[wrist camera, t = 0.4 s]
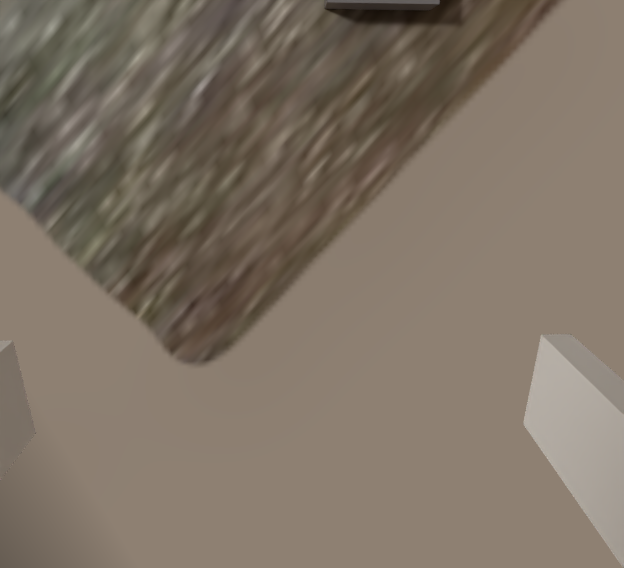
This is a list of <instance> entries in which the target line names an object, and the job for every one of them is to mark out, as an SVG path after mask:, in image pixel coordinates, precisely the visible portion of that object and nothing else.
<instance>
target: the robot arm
mask: <svg viewBox="0 0 624 568" xmlns="http://www.w3.org/2000/svg"><path fill="white" fill-rule="evenodd" d="M523 424H524V426H525V427H526V428H527V430H528V431H529V433H530V434H531V436H532V437H533V439H534V440H535V441H536V443H537V444H538V446H539V447H540V449H541V450H542V452H543V453H544V454H545V456H546V457H547V459H548V460H549V462H550V463H551V465H552V466H553V467H554V469H555V470H556V472H557V473H558V475H559V476H560V478H561V479H562V480H563V482H564V483H565V485H566V486H567V487H568V489H569V490H570V492H571V493H572V495H573V496H574V498H575V499H576V500H577V502H578V503H579V505H580V506H581V508H582V509H583V511H584V512H585V514H586V515H587V516H588V518H589V519H590V521H591V522H592V523H593V525H594V527H595V528H596V529H597V531H598V532H599V534H600V535H601V537H602V538H603V539H604V541H605V542H606V544H607V545H608V547H609V548H610V550H611V551H612V552H613V554H614V555H615V557H616V558H617V560H618V561H619V562H620V564H621V565H622V567H623V568H624V380H623V379H621V377H619V376H618V375H617V374H616V373H615V372H614V371H613V370H611V369H610V368H609V367H608V366H607V365H606V364H604V363H603V362H602V361H601V360H600V359H599V358H598V357H596V356H595V355H594V354H593V353H592V352H591V351H590V350H588V349H587V348H586V347H585V346H584V345H583V344H581V343H580V342H579V341H578V340H577V339H576V338H575V337H574V336H572V335H571V334H542V335H541V338H540V343H539V348H538V353H537V358H536V363H535V368H534V373H533V378H532V384H531V388H530V393H529V398H528V403H527V409H526V413H525V418H524V423H523ZM35 434H36V432H35V428H34V424H33V420H32V416H31V412H30V408H29V403H28V400H27V395H26V391H25V387H24V383H23V379H22V375H21V371H20V367H19V363H18V359H17V355H16V351H15V346H14V342H13V341H0V480H1V479H2V477H3V476H4V475H5V473H6V472H7V471H8V469H9V468H10V467H11V465H12V464H13V463H14V461H15V460H16V459H17V457H18V456H19V455H20V454H21V452H22V451H23V449H24V448H25V447H26V446H27V444H28V443H29V441H30V440H31V439H32V438H33V436H34V435H35Z"/></svg>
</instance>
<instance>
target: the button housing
mask: <svg viewBox="0 0 624 568" xmlns="http://www.w3.org/2000/svg"><path fill="white" fill-rule="evenodd" d="M439 3H440V0H325V9H366V10H431V9H432V8H434V7H436V6H437V5H439Z"/></svg>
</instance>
